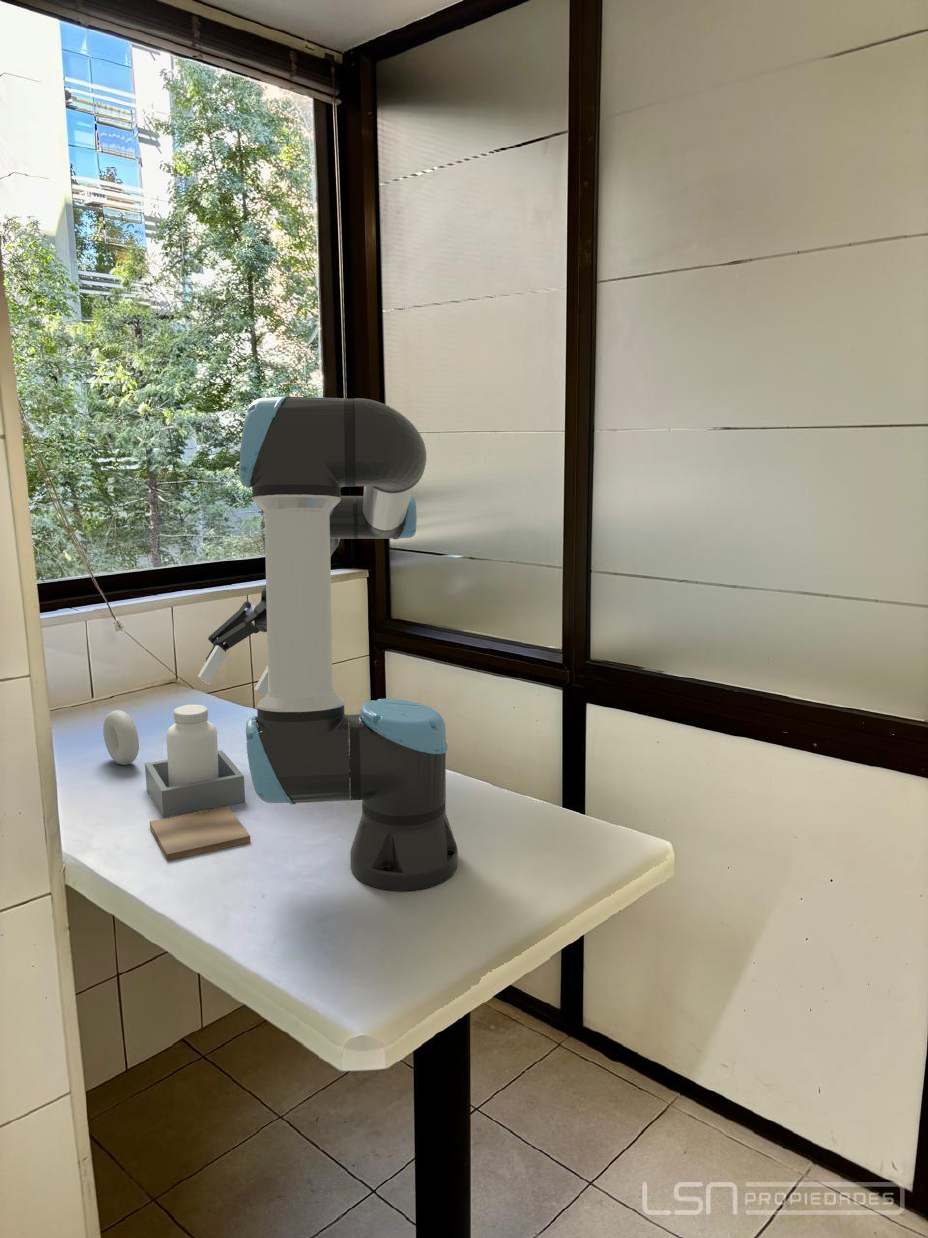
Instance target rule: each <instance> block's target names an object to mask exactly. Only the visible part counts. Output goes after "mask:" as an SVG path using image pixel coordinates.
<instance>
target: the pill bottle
mask: <svg viewBox="0 0 928 1238" xmlns="http://www.w3.org/2000/svg"><path fill="white" fill-rule="evenodd" d="M173 720H174V722H173V724H172V725H171V726H170V727H169V728H168V729H167V732H166V751H167V754H166V755H167V760H168V775H169V787H173V786H179V785H184V784H189V783H195V782H200V781H206V780H211V779H216V778H219V772H218V751H219V749H218V730H217V727H216V726H215V724H213V723H212V722H210V721H209V708H207V707H206V706H205V705H203V704H185V705H181V706H178V707H176V708H175V709H174V710H173Z"/></svg>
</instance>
